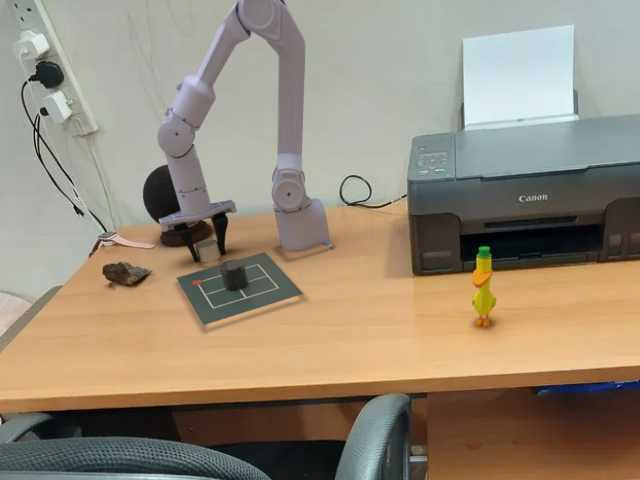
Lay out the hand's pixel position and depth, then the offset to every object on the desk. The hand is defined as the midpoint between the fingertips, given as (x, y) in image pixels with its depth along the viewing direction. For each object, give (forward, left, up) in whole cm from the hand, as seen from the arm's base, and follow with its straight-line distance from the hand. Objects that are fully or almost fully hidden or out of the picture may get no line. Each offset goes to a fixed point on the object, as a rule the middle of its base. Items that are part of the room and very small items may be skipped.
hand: (209, 256), depth 131 cm
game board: (-1, +16, -1) cm, 16 cm away
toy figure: (-30, +52, -2) cm, 60 cm away
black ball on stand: (+1, -18, -2) cm, 18 cm away
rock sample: (+16, -2, -2) cm, 16 cm away
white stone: (0, 0, -1) cm, 1 cm away
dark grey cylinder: (-1, +16, 0) cm, 16 cm away
